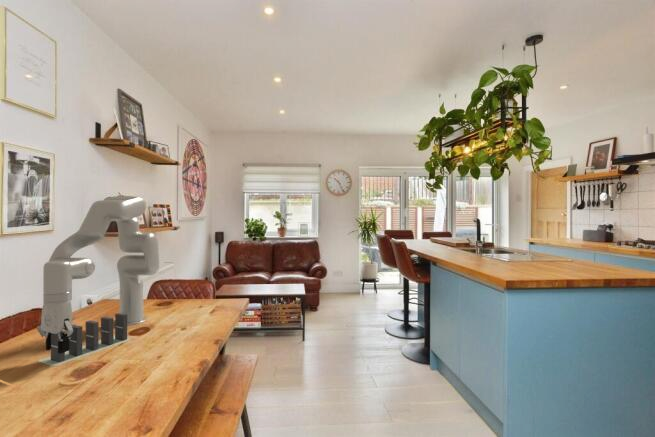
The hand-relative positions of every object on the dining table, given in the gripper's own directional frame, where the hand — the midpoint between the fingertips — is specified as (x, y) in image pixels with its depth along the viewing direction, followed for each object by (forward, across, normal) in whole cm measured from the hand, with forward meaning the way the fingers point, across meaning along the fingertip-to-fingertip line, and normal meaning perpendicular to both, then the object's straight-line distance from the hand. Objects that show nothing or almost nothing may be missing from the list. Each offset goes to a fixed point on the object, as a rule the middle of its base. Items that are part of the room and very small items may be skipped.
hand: (57, 349), depth 112 cm
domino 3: (+4, 0, +11) cm, 12 cm away
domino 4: (+4, 0, +16) cm, 17 cm away
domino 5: (+4, 0, +22) cm, 22 cm away
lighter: (+4, -20, +7) cm, 22 cm away
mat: (+4, -1, +10) cm, 11 cm away
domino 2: (+4, 0, +6) cm, 7 cm away
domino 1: (+4, 0, 0) cm, 4 cm away
